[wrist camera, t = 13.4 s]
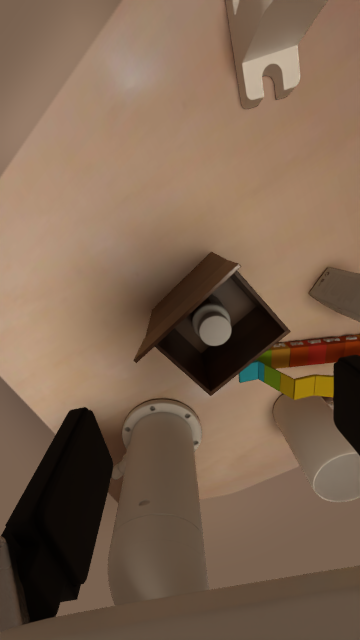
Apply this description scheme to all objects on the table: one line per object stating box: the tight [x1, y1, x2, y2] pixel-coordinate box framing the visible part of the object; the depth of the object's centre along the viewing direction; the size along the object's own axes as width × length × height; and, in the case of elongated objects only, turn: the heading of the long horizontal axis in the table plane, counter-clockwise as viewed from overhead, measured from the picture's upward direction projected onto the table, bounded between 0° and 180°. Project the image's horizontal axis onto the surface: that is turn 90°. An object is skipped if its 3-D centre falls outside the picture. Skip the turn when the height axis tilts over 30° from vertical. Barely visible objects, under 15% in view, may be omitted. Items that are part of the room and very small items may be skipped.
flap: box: [134, 260, 241, 363], centre depth 21 cm, size 11×5×1 cm
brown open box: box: [145, 252, 290, 396], centre depth 29 cm, size 11×10×9 cm
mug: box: [273, 394, 360, 502], centre depth 34 cm, size 8×12×12 cm
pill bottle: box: [190, 295, 232, 346], centre depth 30 cm, size 4×4×8 cm
